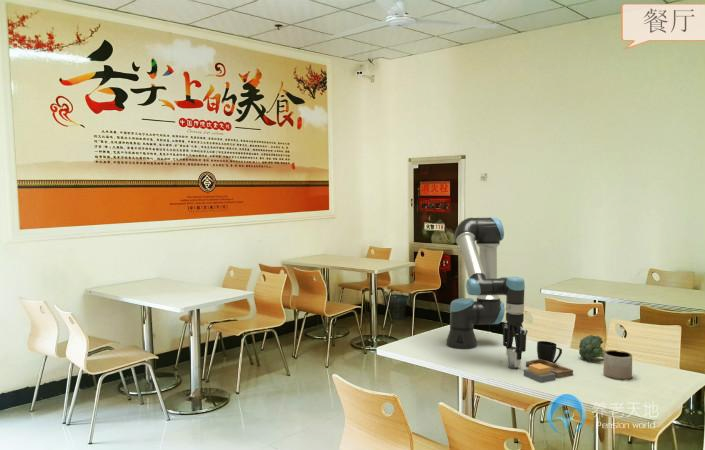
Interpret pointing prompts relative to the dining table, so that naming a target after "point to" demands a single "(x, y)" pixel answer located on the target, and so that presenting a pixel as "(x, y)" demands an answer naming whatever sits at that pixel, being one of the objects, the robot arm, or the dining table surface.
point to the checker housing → (540, 376)
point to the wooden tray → (552, 368)
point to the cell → (512, 357)
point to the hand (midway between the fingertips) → (513, 364)
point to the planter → (617, 364)
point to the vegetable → (591, 347)
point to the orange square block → (539, 369)
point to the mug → (547, 351)
